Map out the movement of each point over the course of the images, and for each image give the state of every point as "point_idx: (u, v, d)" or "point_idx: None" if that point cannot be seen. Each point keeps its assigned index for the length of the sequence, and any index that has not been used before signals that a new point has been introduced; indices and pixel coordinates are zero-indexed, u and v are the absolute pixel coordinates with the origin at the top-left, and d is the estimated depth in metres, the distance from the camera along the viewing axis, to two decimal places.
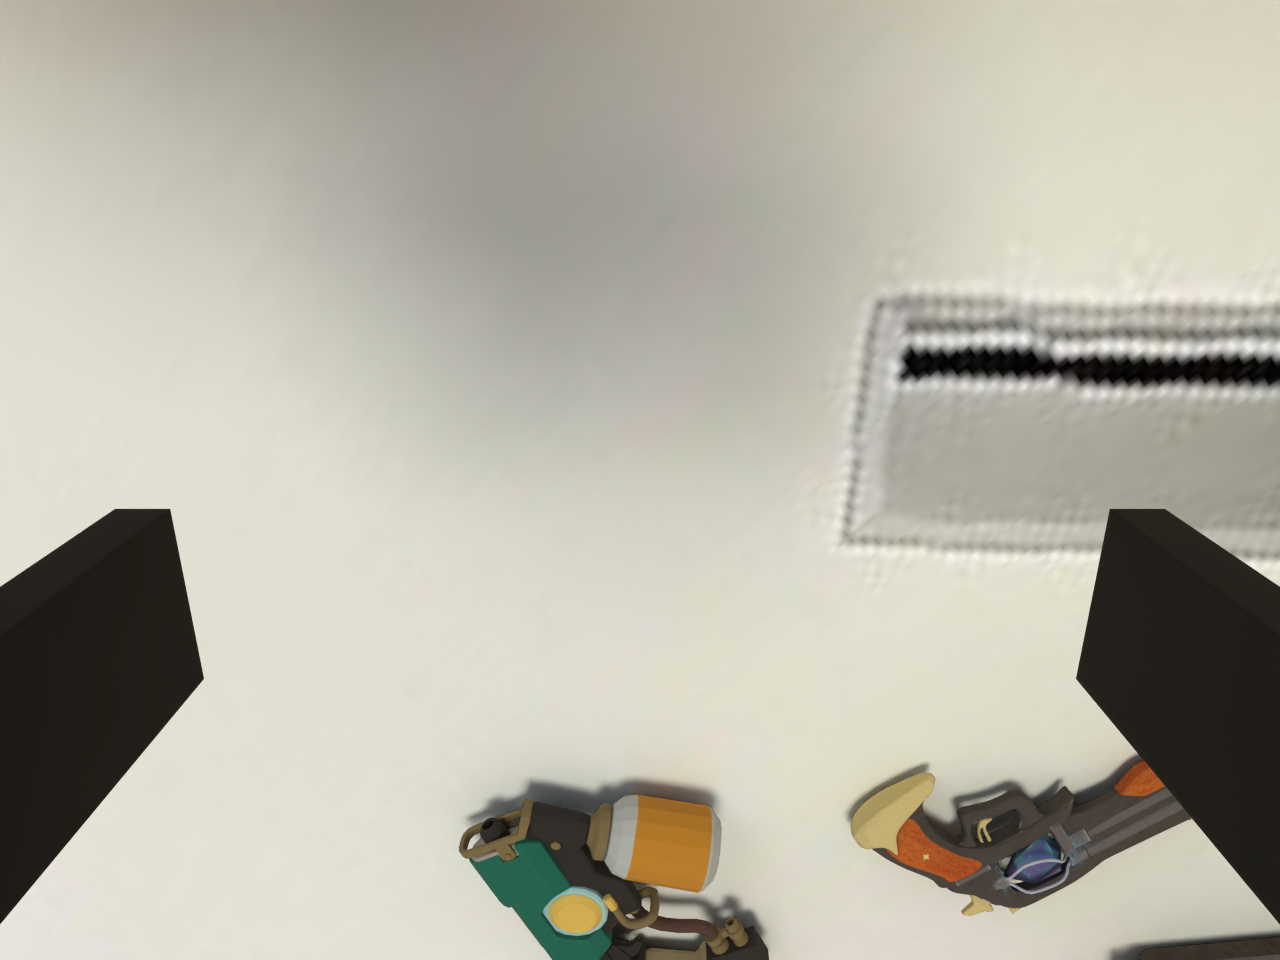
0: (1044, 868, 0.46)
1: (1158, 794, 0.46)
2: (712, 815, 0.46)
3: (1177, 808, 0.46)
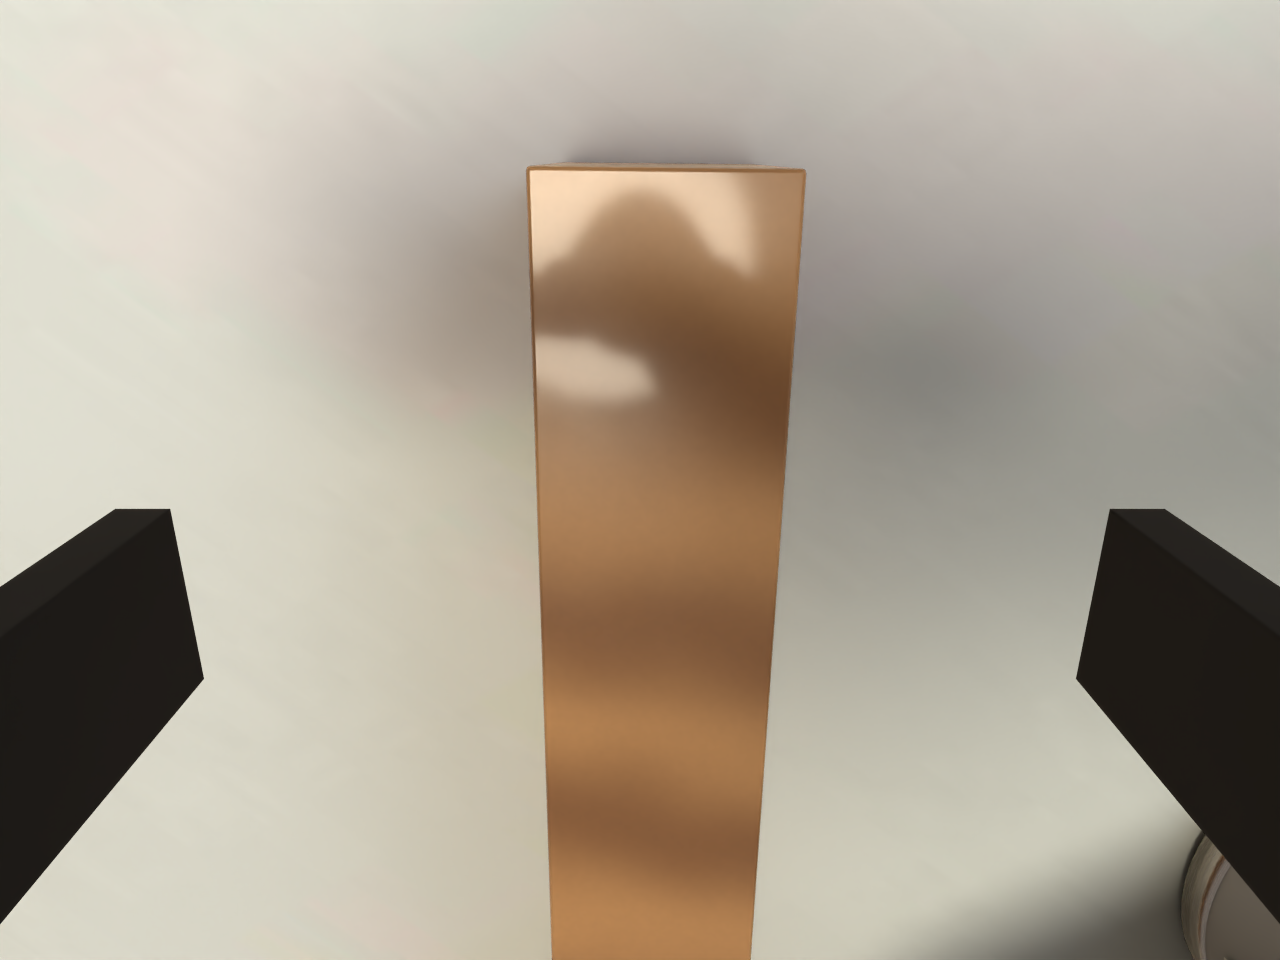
0: None
1: None
2: None
3: None
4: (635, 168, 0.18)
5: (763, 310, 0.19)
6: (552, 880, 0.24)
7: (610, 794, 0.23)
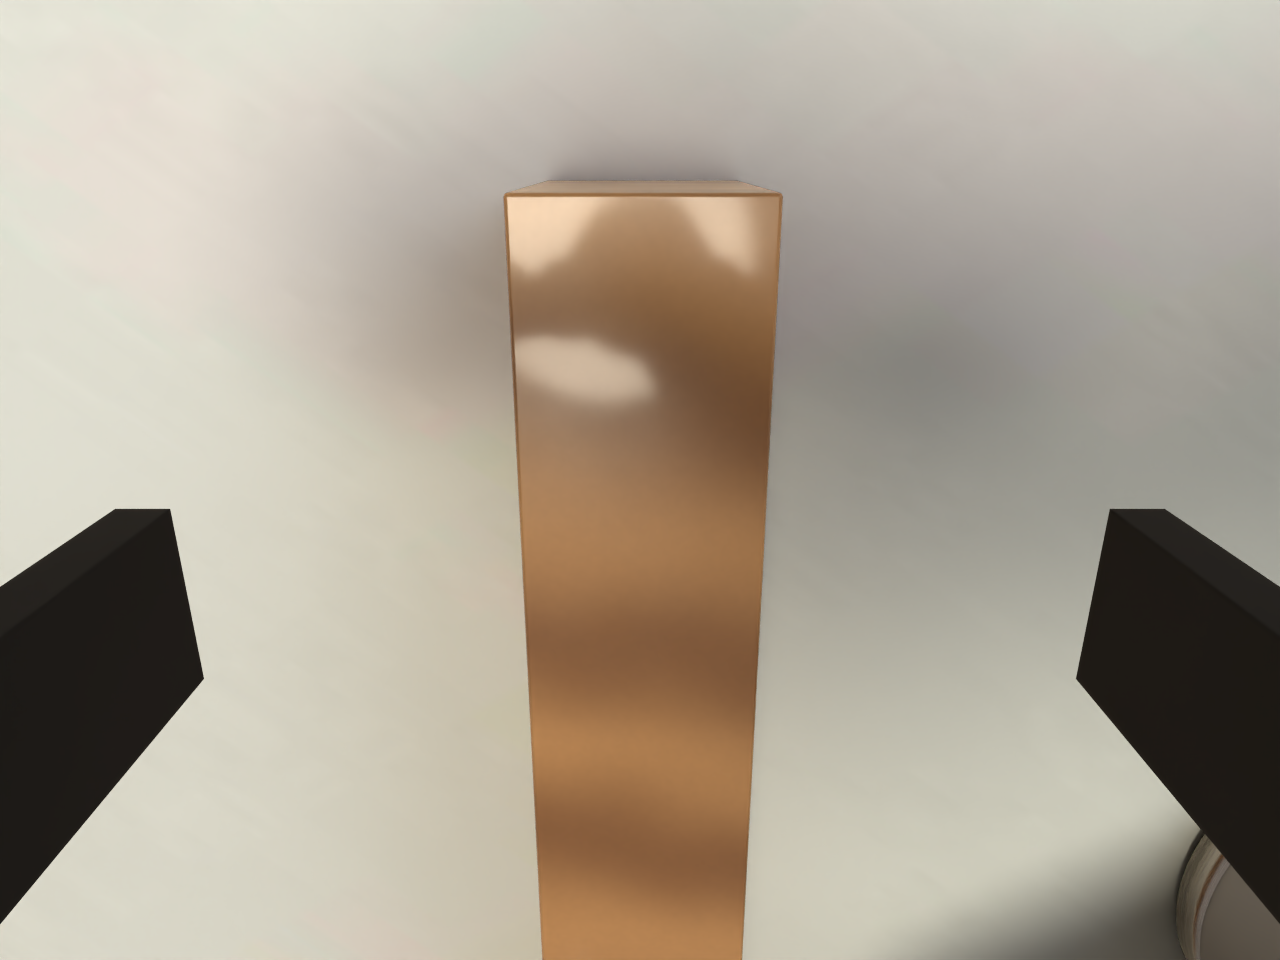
0: None
1: None
2: None
3: None
4: (612, 194, 0.18)
5: (741, 333, 0.19)
6: (542, 897, 0.24)
7: (598, 812, 0.23)
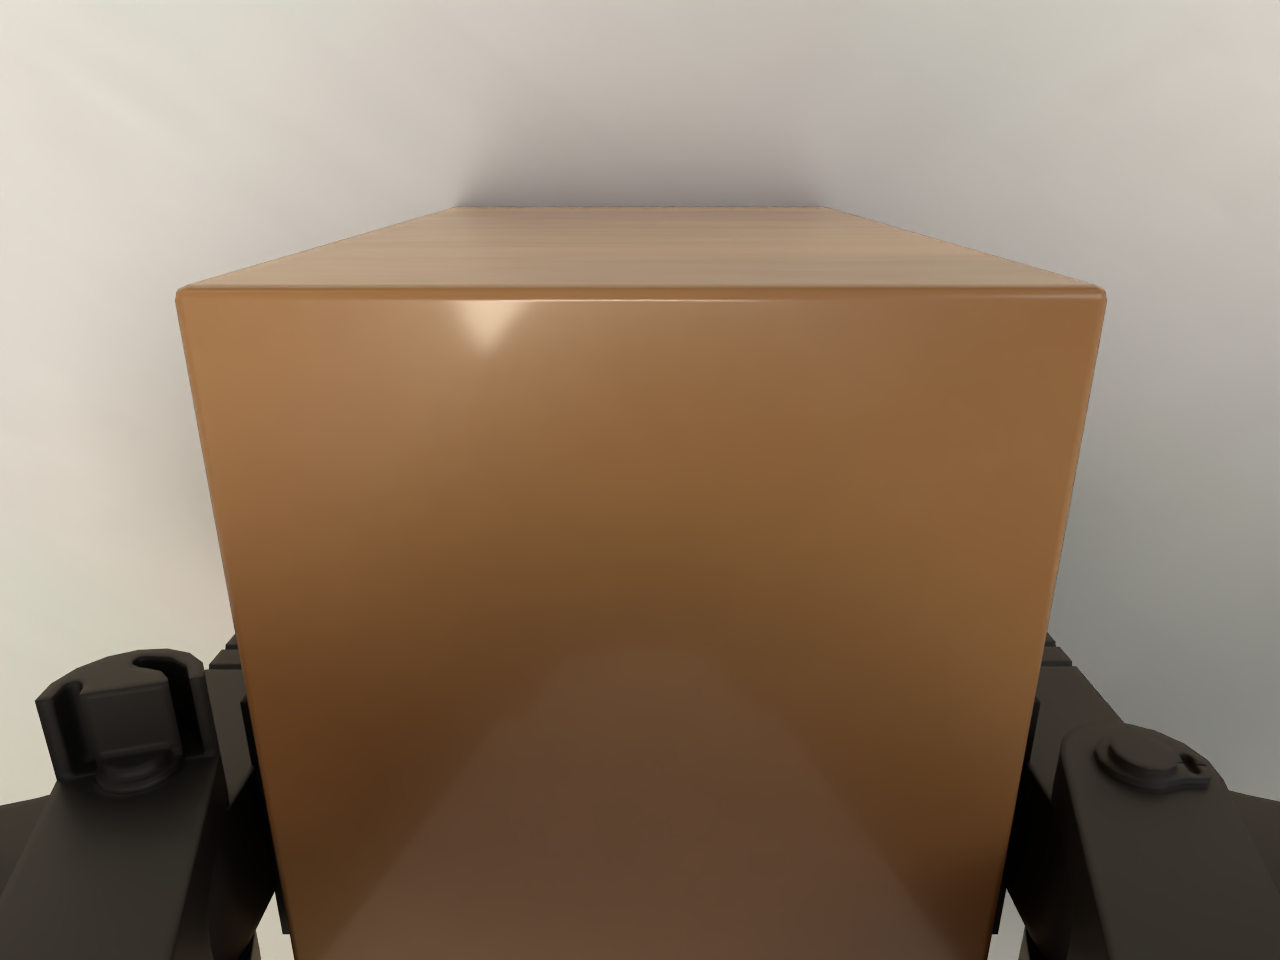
0: None
1: None
2: None
3: None
4: (537, 290, 0.05)
5: (938, 692, 0.06)
6: None
7: None
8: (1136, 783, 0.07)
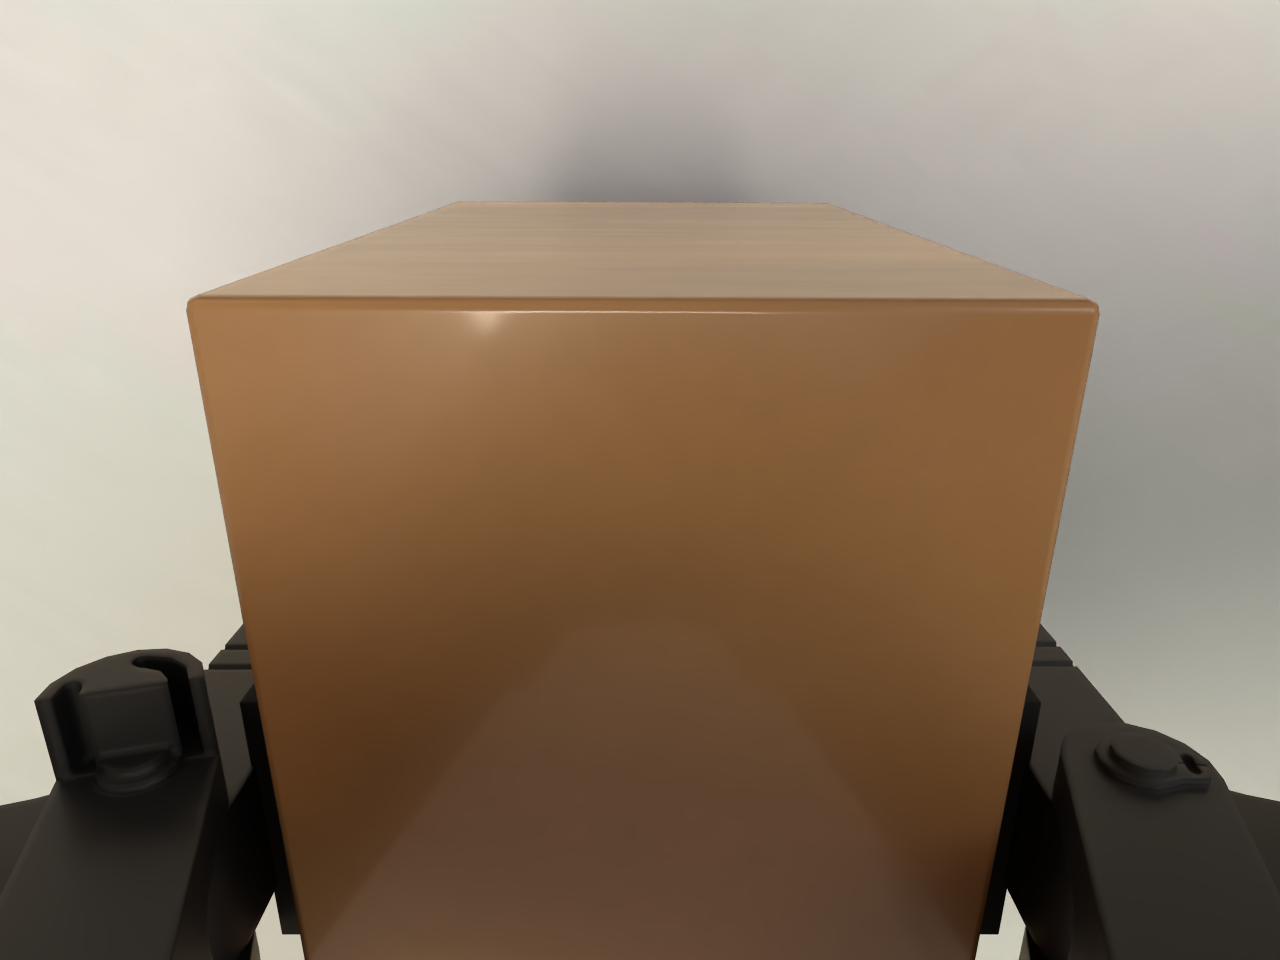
0: None
1: None
2: None
3: None
4: (541, 301, 0.05)
5: (931, 693, 0.06)
6: None
7: None
8: (1136, 782, 0.07)
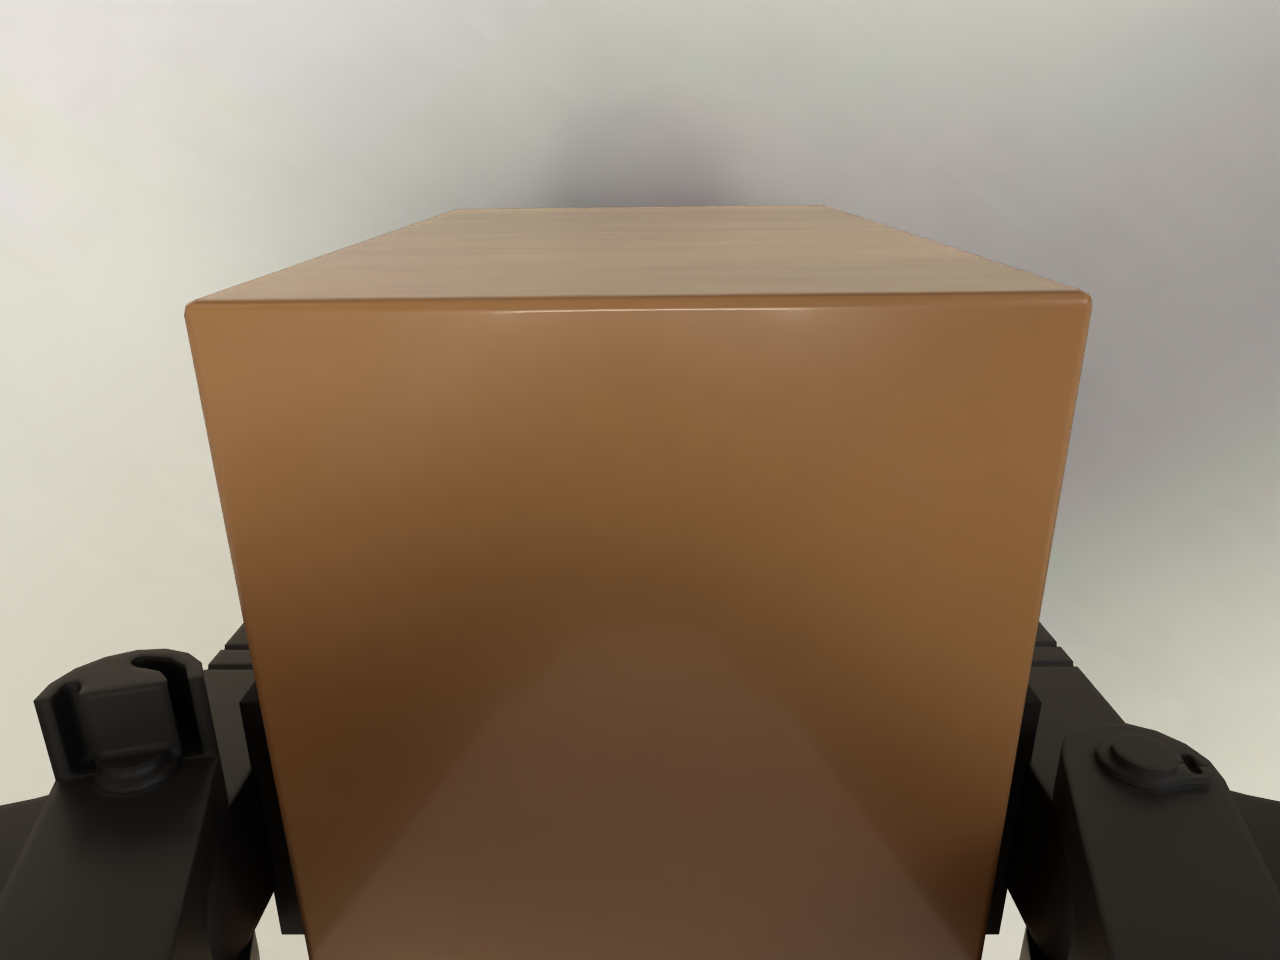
0: None
1: None
2: None
3: None
4: (536, 301, 0.05)
5: (932, 689, 0.06)
6: None
7: None
8: (1136, 781, 0.07)
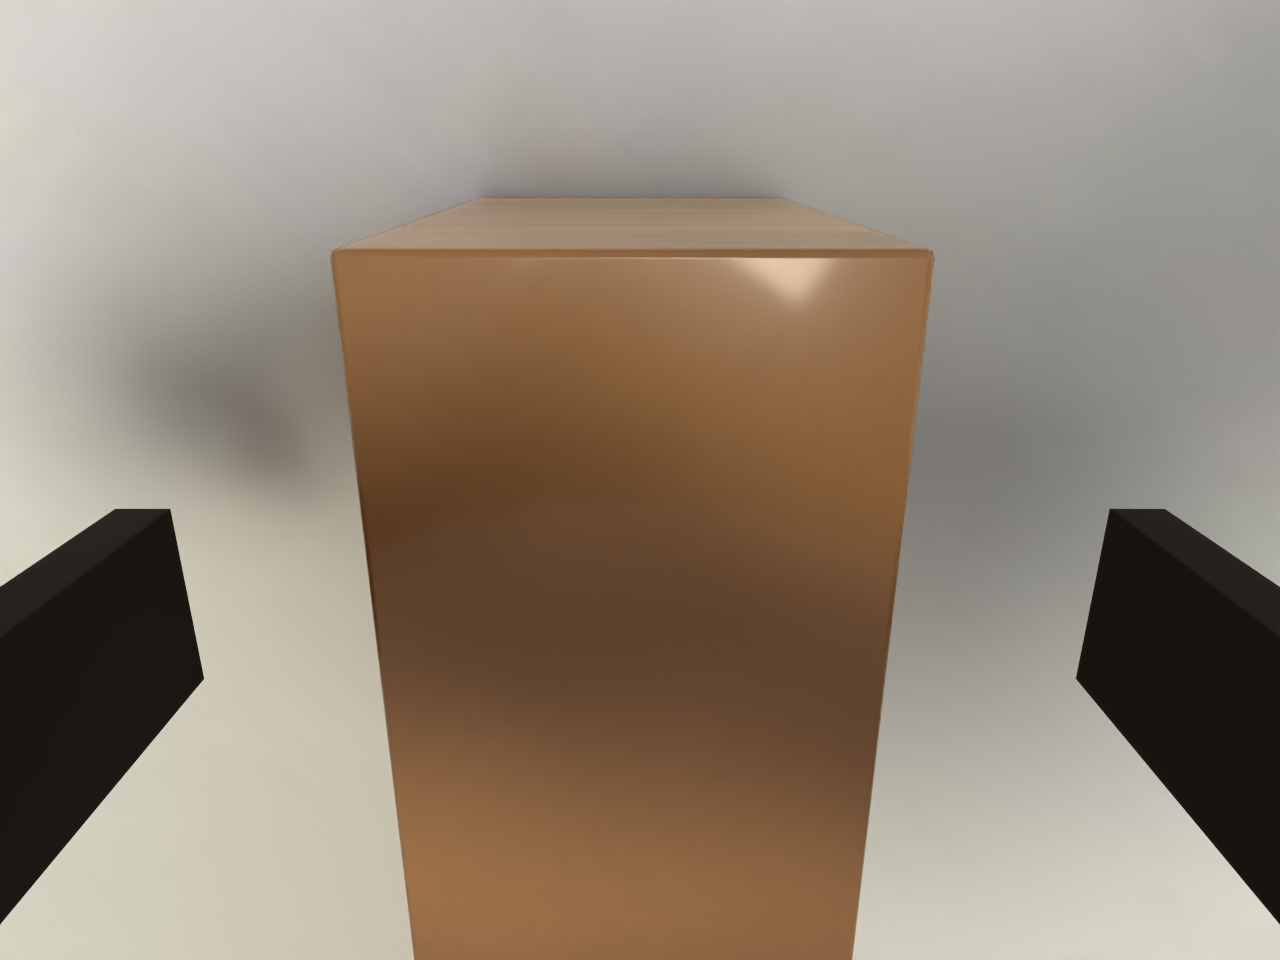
0: None
1: None
2: None
3: None
4: (566, 251, 0.08)
5: (836, 529, 0.09)
6: None
7: None
8: None
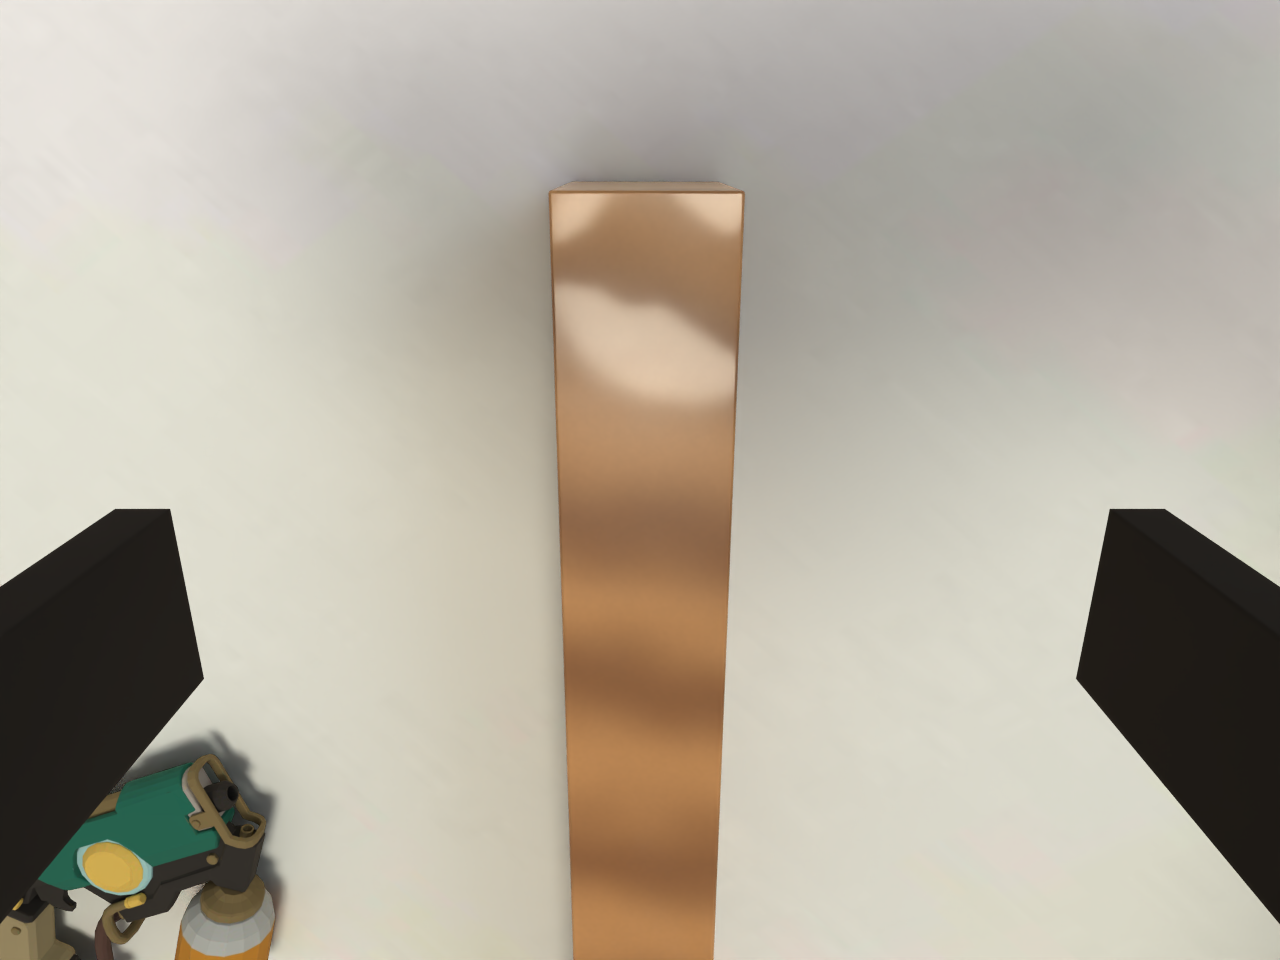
0: None
1: None
2: None
3: None
4: (625, 191, 0.25)
5: (716, 290, 0.26)
6: (568, 727, 0.31)
7: (611, 658, 0.30)
8: None
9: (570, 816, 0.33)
